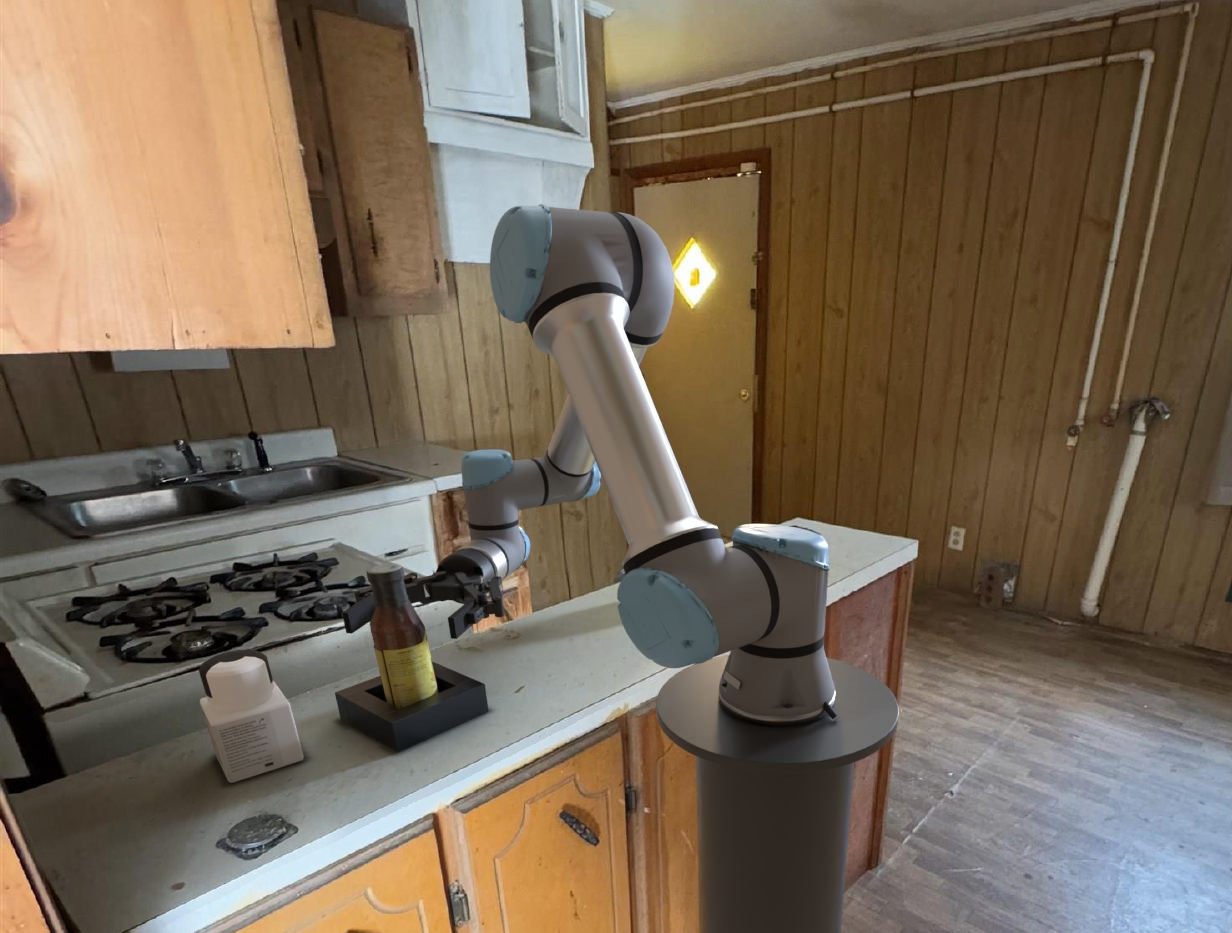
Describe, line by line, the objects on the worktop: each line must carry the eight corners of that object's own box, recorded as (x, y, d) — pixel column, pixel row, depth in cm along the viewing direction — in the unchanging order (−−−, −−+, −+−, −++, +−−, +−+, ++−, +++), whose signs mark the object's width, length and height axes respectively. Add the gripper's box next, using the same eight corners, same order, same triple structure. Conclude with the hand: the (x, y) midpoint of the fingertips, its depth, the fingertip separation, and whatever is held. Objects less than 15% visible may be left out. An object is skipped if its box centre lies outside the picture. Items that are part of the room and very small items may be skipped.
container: (216, 756, 91) (184, 655, 86) (288, 735, 96) (262, 637, 90) (229, 785, 86) (196, 678, 80) (305, 761, 90) (279, 658, 85)
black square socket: (488, 711, 101) (485, 683, 100) (397, 752, 92) (392, 723, 90) (430, 684, 109) (426, 658, 107) (340, 720, 99) (334, 692, 98)
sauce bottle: (452, 710, 102) (428, 563, 94) (416, 731, 96) (388, 579, 88) (414, 700, 104) (387, 557, 96) (377, 721, 99) (346, 571, 91)
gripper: (556, 599, 114) (500, 659, 95) (395, 592, 117) (310, 648, 98) (551, 550, 111) (493, 601, 92) (387, 544, 114) (297, 592, 95)
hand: (398, 625), depth 95 cm, fingers open, 13 cm apart
